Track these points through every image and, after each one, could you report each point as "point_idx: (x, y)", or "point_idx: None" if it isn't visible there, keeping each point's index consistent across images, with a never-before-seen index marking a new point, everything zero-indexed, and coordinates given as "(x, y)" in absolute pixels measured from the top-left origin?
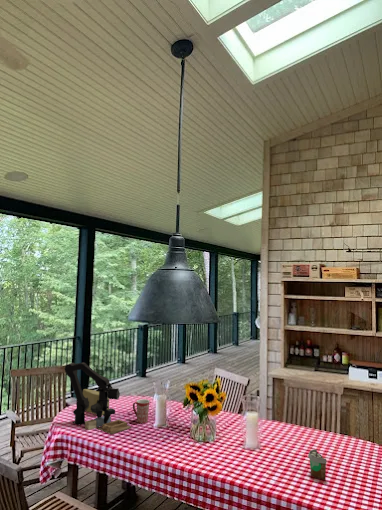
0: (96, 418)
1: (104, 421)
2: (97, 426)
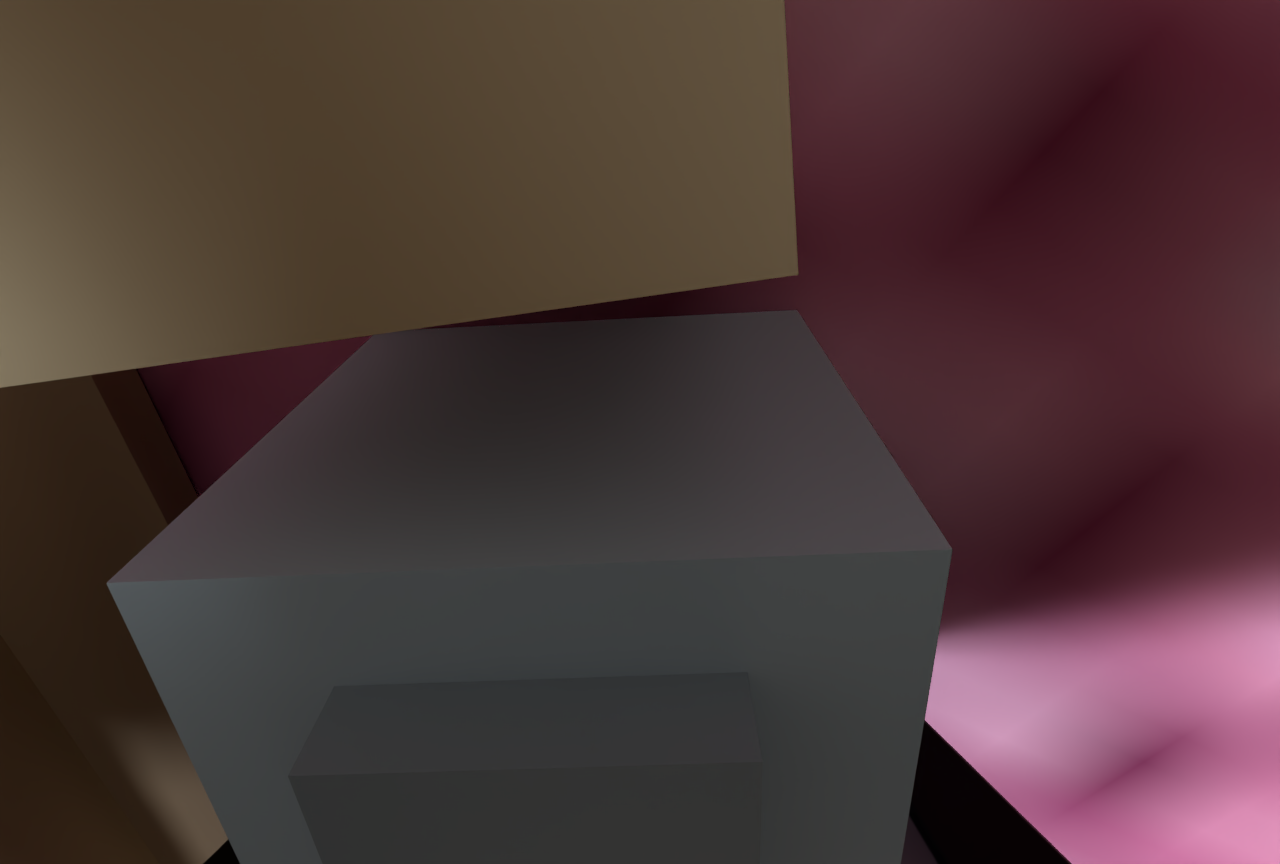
0: (635, 727)
1: None
2: (361, 350)
